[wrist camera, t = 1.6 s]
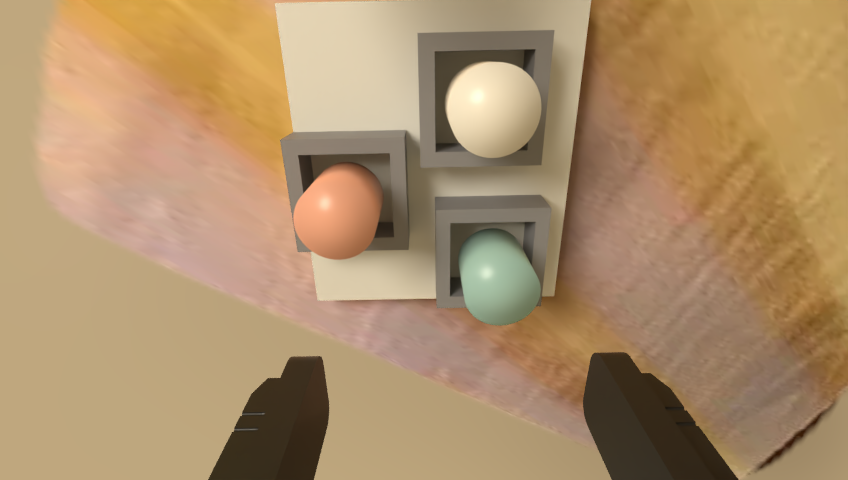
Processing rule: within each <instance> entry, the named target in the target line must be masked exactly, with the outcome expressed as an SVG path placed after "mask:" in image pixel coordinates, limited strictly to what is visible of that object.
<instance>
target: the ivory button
mask: <svg viewBox="0 0 848 480" xmlns="http://www.w3.org/2000/svg"><path fill="white" fill-rule="evenodd" d="M444 104H445V112H446V116H447V119H448V121H449V124H450V126H451V129H452V131H453V133H454V135H455V137H456V139H457V140H458V142H459V143H460V144H461V145H462V146H463V147H464V148H465V149H466V150H468V151H469V152H471V153H473V154H475V155H478V156H481V157H486V158H499V157H504V156H507V155H510V154H512V153H514V152H516V151H517V150H519V149H520V148H521V147H523V146H524V145H525V144H526V143H527V142H528V141H529V140H530V138H531V137H532V136H533V134H534V132H535V131H536V129H537V126H538V124H539V120H540V116H541V97H540V93H539V90H538V88H537V86H536V84H535V82H534V81H533V79H532V78H531V77H530V76H529V75H528V74H527V73H526V72H525V71H524V70H522V69H521V68H519V67H517V66H515V65H512V64H509V63H504V62H490V61H481V62H475V63H472V64H469V65H467V66H466V67H464V68H463V69H461V70H460V71H459V72H458V73H457V74H456V75H455V76H454V77H453V78H452V80H451V82H450V83H449V85H448V88H447V91H446V94H445V103H444Z"/></svg>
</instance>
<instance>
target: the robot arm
mask: <svg viewBox="0 0 848 480" xmlns="http://www.w3.org/2000/svg"><path fill="white" fill-rule="evenodd" d="M583 408H584V415H585V419H586V423H587V425H588V428H589V430H590V432H591V434H592V436H593V439H594V441H595V443H596V445H597V448H598V450H599V452H600V454H601V456H602V459H603V461H604V463H605V465H606V467H607V470H608V472H609V474H610V477H611V479H612V480H738V478H737V477H736V476H735V474H734V473H733V472H732V470H731V469H730V468H729V466H728V465H727V464H726V462H725V461H724V460H723V458H722V457H721V456H720V454H719V453H718V452H717V450H716V449H715V448H714V446H713V445H712V444H711V442H710V441H709V440H708V438H707V437H706V436H705V434H704V433H703V432H702V430H701V429H700V428H699V426H696V424H695V421H694V420H693V418H692V417H691V416H690V414H689V413H688V412H687V411H685V410H684V406H683V405H682V404H681V402H680V401H679V400H678V398H677V397H676V396H675V394H674V393H673V392H672V390H671V389H670V388H669V387H668V386H666V385H665V384H664V383H662V382H661V381H660V380H658V379H657V378H656V377H654V376H653V375H652V374H651V373H641V372H640V371H639V369H638V368H637V366H636V365H635V363H634V362H633V360H632V359H631V358H630V356H629V355H628V354H627V353H624V352H617V353H594V354H593V355H592V357H591V360H590V365H589V371H588V376H587V382H586V387H585V393H584V398H583ZM328 418H329V400H328V393H327V386H326V379H325V372H324V365H323V360H322V357H320V356H312V357H311V356H310V357H291V358H289V360H288V362H287V364H286V366H285V369H284V371H283V373H282V375H281V378H268V379H267V380H266V381H265V382H263V384H261V385H260V386H259V387H258V388H257V389H256V390H255V391H254V392H253V393H252V394H251V396H250V398H249V400H248V402H247V404H246V406H245V408H244V410H243V413H242V416H240V418H239V420H238V422H237V424H236V426H235V430H234V432H232V434H231V436H230V438H229V440H228V442H227V443H226V445H225V447H224V450H223V451H222V454H221V455H220V458H219V459H218V461H217V463H216V465H215V467H214V469H213V471H212V473H211V475H210V477H209V479H208V480H314V476H315V472H316V469H317V465H318V461H319V456H320V453H321V449H322V445H323V441H324V437H325V434H326V429H327V425H328Z"/></svg>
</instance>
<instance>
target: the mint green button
mask: <svg viewBox="0 0 848 480" xmlns="http://www.w3.org/2000/svg"><path fill="white" fill-rule="evenodd" d="M458 265H459V271H460V276H461V282H462V288H463V294H464V299H465V303H466V306H467V308H468V310H469V311H470V313H471V314H472V315H473V316H474V317H475V318H477V319H478V320H480V321H482V322H484V323H487V324H491V325H508V324H512V323H515V322H518V321H520V320H522V319H523V318H525V317H526V316H528V315H529V314H530V313H531V312H532V311H533V309H534V308H535V307H536V305H537V303H538V301H539V298H540V293H541V287H540V282H539V279H538V277H537V275H536V273H535V271H534V269H533V267H532V266H531V264H530V262H529V260H528V258H527V256H526V254H525V252H524V250H523V248H522V246H521V244H520V243H519V241H518V240H517V239H516V237H515V236H513V235H512V234H511V233H509V232H507V231H505V230H502V229H497V228H489V229H483V230H480V231H478V232H475V233H474V234H472V235H471V236H469V237H468V238H467V239H466V240H465V241H464V243H463V244H462V246H461V248H460V250H459V254H458Z"/></svg>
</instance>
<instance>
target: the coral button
mask: <svg viewBox="0 0 848 480" xmlns="http://www.w3.org/2000/svg"><path fill="white" fill-rule="evenodd" d="M383 201H384V194H383V189H382V186H381V183H380V182H379V180H378V178H377V177H376V176H375V174H374V173H373V172H372V171H370V170H369V169H368V168H366V167H364V166H362V165H360V164H357V163H353V162H340V163H336V164H333V165H331V166H329V167H328V168H326V169H325V170H324V171H323V172H322V173H321V174H320V175H319V176H318V177H317V178H316V180H315V181H314V182H313V183H312V184H311V185H310V187H309V188H308V189H307V190H306V191H305V192H304V193H303V195H302V196H301V197H300V198H299V200H298V202H297V204H296V206H295V209H294V216H293V220H294V227H295V230H296V233H297V235H298V237H299V238H300V240H301V241H302V243H303V244H304V245H305V246H306V247H307V248H308V249H309V250H311V251H312V252H314V253H315V254H317V255H319V256H322V257H324V258H328V259H334V260H342V259H348V258H352V257H355V256H357V255H359V254H360V253H362V252H363V251H364V250H365V249H367V247H368V246H369V245H370V244H371V242H372V240H373V238H374V236H375V232H376V229H377V225H378V221H379V217H380V214H381V210H382V206H383Z"/></svg>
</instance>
